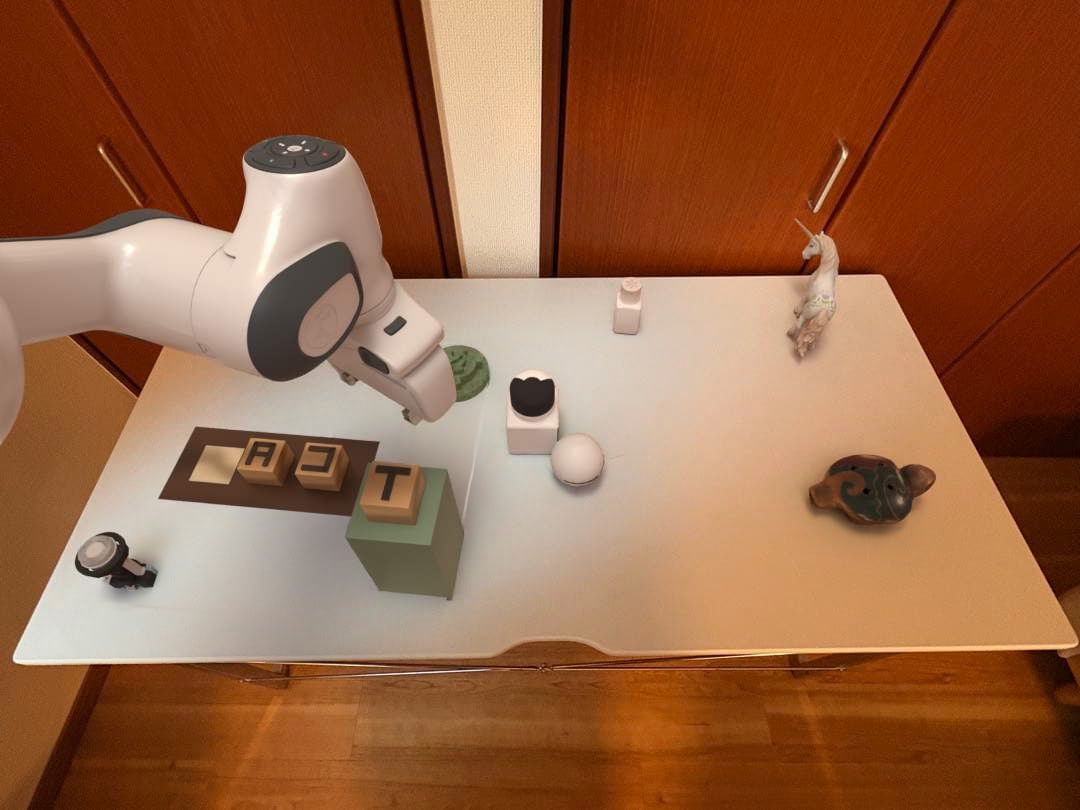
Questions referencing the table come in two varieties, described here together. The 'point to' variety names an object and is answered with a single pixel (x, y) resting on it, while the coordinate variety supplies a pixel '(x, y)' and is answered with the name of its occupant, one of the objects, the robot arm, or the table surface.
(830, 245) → the unicorn figurine
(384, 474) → the tile
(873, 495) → the decorative turtle
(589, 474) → the white sphere
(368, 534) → the stand
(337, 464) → the tile
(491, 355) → the table surface
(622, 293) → the pepper shaker
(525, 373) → the white black domed block
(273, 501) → the word board
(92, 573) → the push button
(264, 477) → the tile
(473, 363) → the decorative artifact
